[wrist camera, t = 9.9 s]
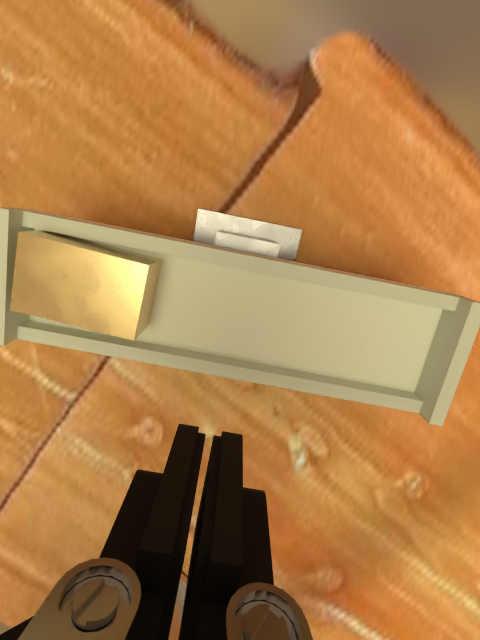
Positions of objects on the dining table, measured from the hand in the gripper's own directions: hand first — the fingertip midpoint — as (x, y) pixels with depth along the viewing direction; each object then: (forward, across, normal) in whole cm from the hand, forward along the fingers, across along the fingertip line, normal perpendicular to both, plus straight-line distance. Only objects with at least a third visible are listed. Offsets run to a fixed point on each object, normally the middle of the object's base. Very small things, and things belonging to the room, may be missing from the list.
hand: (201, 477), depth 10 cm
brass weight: (+18, +9, -1) cm, 21 cm away
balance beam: (+24, -1, 0) cm, 24 cm away
